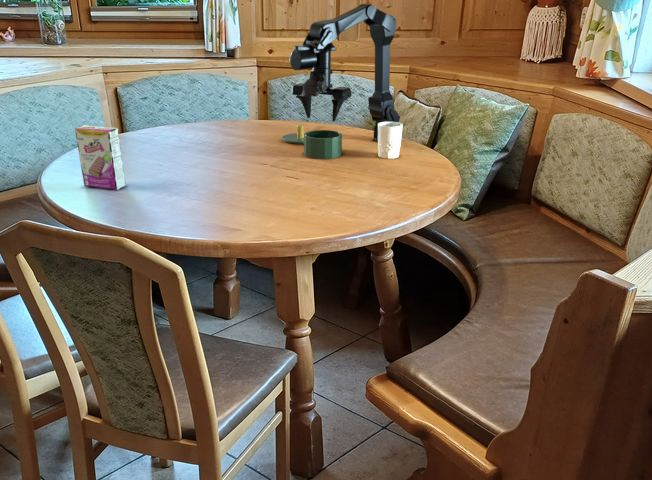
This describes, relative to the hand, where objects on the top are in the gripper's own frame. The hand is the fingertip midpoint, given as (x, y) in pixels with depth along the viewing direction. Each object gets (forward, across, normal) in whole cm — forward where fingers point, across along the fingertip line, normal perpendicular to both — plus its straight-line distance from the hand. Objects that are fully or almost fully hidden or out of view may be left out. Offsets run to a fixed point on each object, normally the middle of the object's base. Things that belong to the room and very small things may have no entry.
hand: (321, 119), depth 233 cm
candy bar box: (+11, -37, -62) cm, 73 cm away
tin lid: (+10, -15, +12) cm, 22 cm away
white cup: (+11, +21, +7) cm, 25 cm away
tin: (+11, +1, -1) cm, 11 cm away
